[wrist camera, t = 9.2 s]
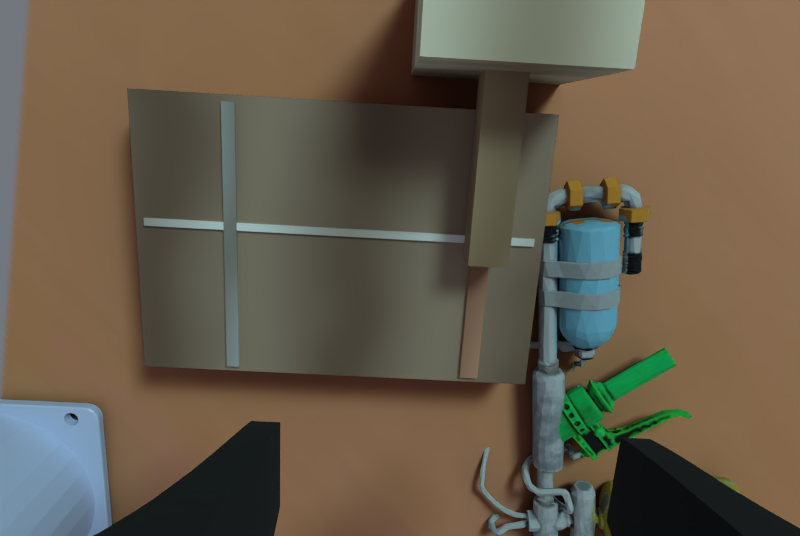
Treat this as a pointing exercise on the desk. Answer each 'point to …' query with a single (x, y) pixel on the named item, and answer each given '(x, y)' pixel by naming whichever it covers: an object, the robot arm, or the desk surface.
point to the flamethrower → (581, 356)
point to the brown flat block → (327, 238)
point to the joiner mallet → (515, 83)
